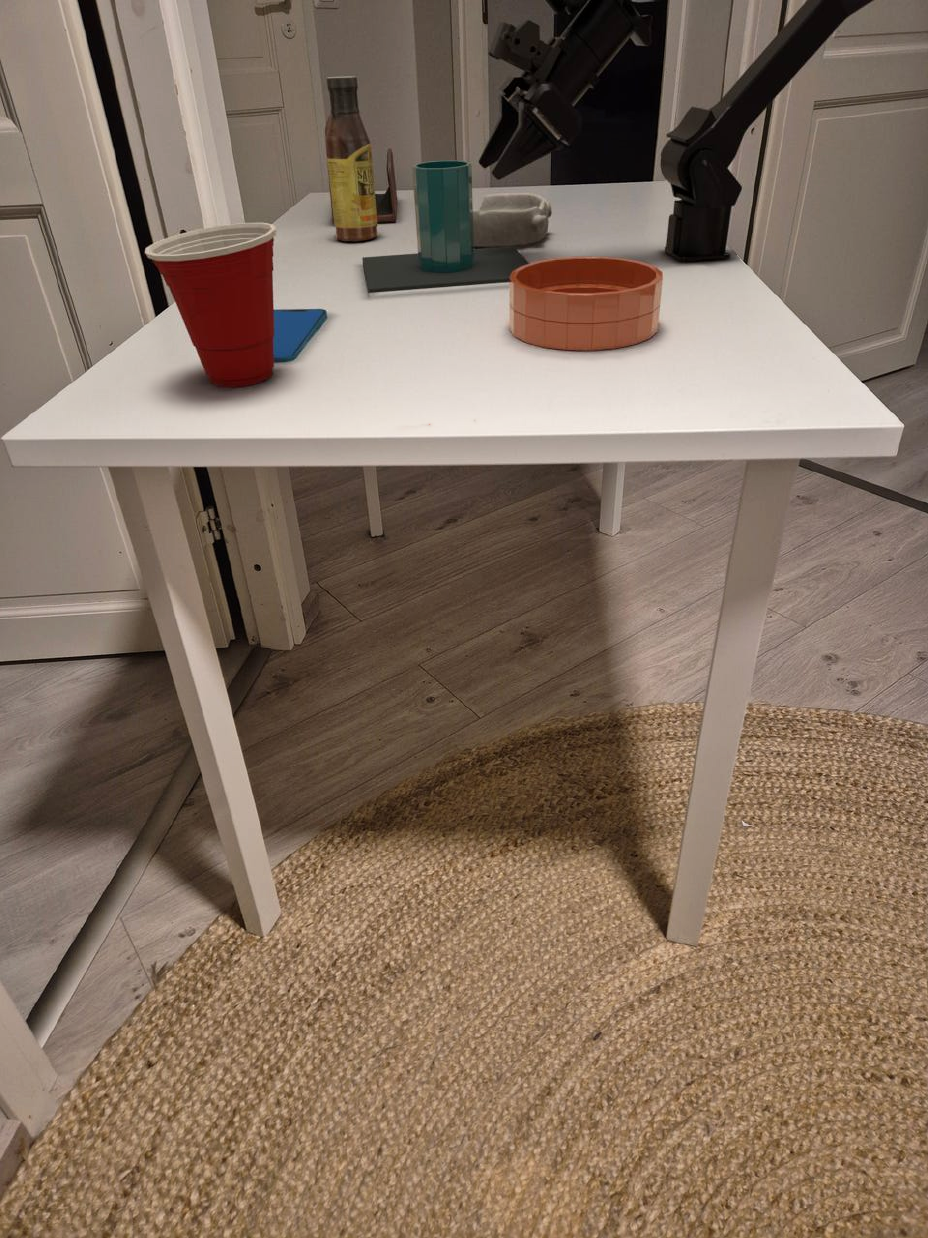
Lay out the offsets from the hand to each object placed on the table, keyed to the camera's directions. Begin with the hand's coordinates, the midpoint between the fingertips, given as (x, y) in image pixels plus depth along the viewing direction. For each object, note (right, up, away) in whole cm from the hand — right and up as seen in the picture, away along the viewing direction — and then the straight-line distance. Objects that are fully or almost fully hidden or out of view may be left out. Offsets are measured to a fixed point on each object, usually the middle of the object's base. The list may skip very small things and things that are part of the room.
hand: (487, 170), depth 96 cm
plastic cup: (-23, -30, -21) cm, 43 cm away
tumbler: (-5, -9, +5) cm, 11 cm away
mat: (-5, -9, +6) cm, 12 cm away
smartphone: (-22, -24, -12) cm, 34 cm away
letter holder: (-19, +15, +41) cm, 48 cm away
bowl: (+9, -24, -15) cm, 30 cm away
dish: (+3, +1, +21) cm, 21 cm away
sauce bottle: (-18, +4, +25) cm, 31 cm away
